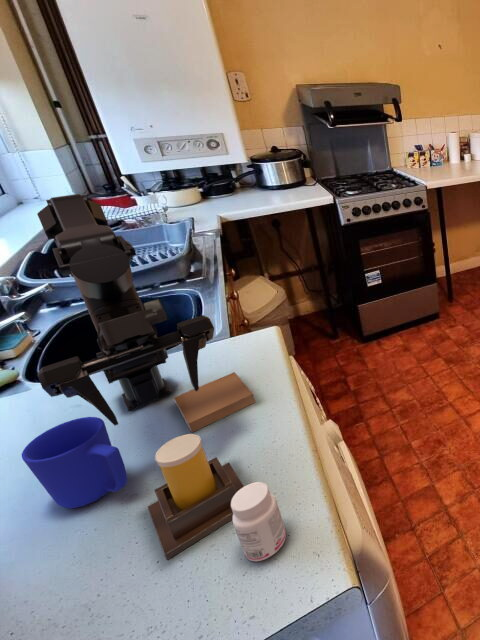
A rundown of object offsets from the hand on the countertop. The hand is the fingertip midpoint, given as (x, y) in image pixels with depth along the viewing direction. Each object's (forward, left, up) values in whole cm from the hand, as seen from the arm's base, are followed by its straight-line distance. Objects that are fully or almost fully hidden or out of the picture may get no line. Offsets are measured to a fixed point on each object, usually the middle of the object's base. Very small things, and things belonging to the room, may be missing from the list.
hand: (158, 406), depth 61 cm
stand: (+9, 0, -13) cm, 15 cm away
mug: (-5, -9, -13) cm, 17 cm away
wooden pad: (-14, +8, -13) cm, 21 cm away
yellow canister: (+9, 0, -11) cm, 14 cm away
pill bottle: (+21, +4, -13) cm, 25 cm away
